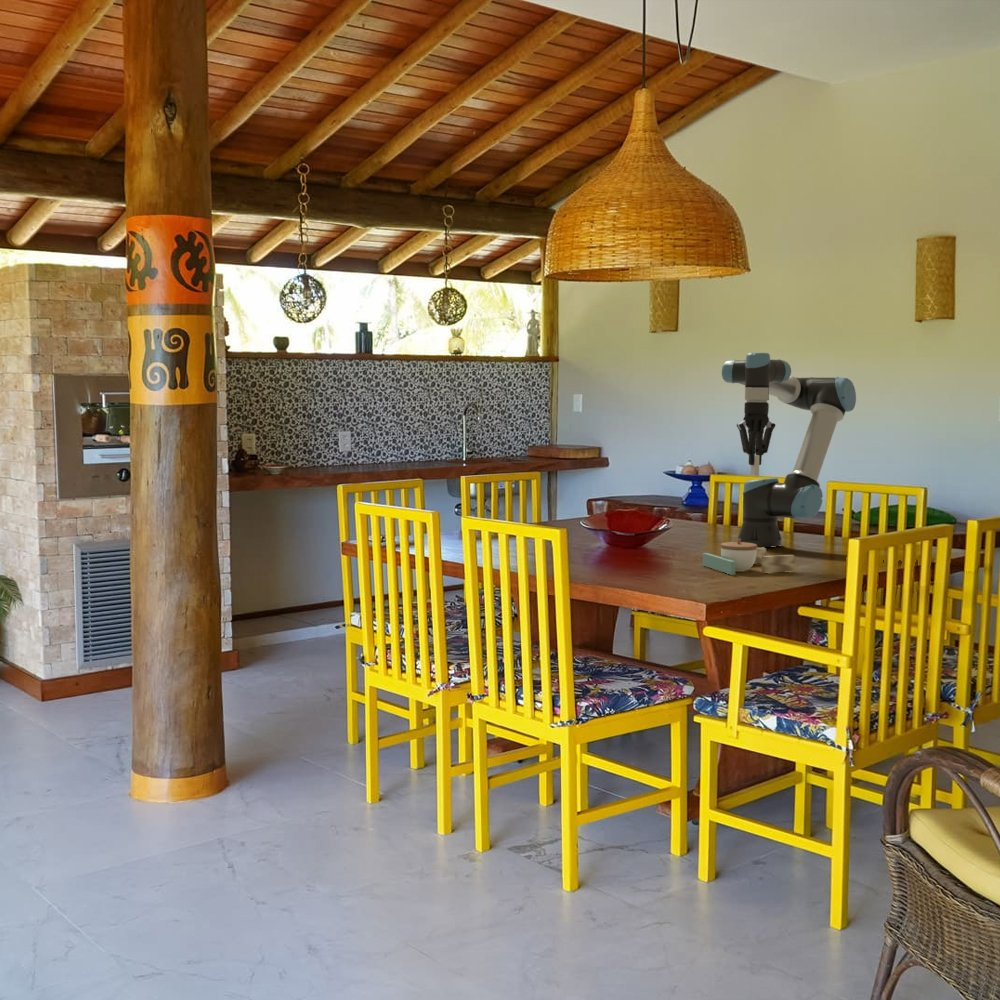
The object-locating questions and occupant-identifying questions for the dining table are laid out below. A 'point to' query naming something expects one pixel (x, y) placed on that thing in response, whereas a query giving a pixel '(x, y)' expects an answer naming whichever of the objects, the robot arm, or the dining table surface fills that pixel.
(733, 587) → the dining table surface
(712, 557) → the bar
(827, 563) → the dining table surface
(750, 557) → the lidded jar
